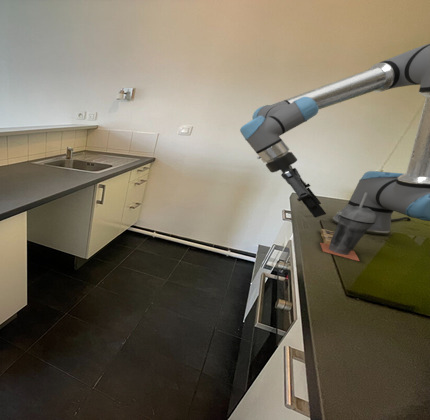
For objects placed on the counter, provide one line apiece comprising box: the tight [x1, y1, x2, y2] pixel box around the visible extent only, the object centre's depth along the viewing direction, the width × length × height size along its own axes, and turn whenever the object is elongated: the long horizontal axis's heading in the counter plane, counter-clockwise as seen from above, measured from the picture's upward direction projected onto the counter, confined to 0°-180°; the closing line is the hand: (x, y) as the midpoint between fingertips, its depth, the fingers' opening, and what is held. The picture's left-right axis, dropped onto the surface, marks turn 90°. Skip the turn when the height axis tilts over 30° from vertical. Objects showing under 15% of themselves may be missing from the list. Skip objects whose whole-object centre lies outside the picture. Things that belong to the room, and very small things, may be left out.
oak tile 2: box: [321, 235, 332, 245], centre depth 84 cm, size 6×6×2 cm
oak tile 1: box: [319, 228, 335, 238], centre depth 89 cm, size 6×6×2 cm
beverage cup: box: [329, 192, 376, 255], centre depth 76 cm, size 7×7×20 cm
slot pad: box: [319, 242, 360, 262], centre depth 80 cm, size 8×8×1 cm
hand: (318, 210), depth 80 cm, fingers open, 13 cm apart
